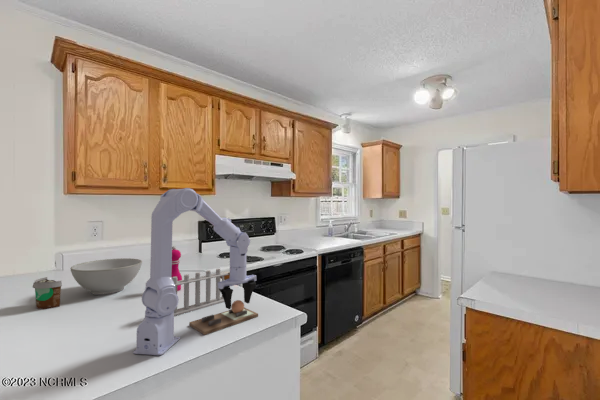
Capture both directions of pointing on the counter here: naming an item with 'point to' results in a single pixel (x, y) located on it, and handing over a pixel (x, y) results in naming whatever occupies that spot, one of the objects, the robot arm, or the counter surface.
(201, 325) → the cradle board
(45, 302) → the food container
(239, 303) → the terracotta ball
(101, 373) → the counter surface
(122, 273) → the decorative bowl
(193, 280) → the test tube rack
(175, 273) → the pepper mill
